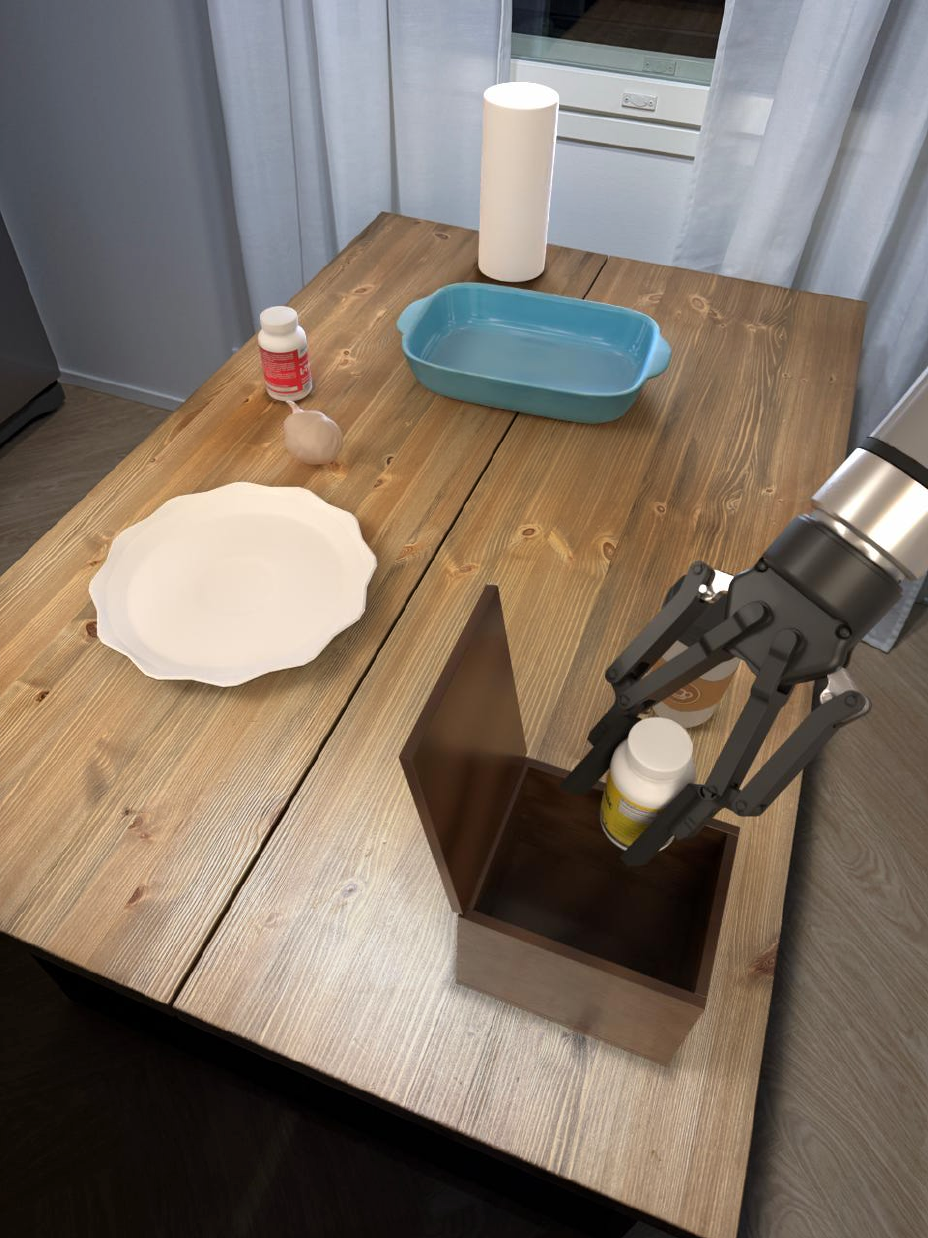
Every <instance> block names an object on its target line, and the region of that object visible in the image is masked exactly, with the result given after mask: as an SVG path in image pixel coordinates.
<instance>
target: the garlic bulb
mask: <svg viewBox="0 0 928 1238" xmlns="http://www.w3.org/2000/svg"><path fill="white" fill-rule="evenodd" d="M286 404H287V405H288V406H289V407H290V408H291V409H292V413H290V414H289V415H287V417H286V418H285V420H284V422H283V426H282V427H283V429H284V447H285V449H286V451H287V452H288V453H289V454H290V455H291V456H292V457H293V458H295V459H296V460H298V461H300V462H302V463H303V464H305V465H308V466H309V465H310V466H317V465H321V466H322V465H323V466H324V465H327V464H329V463H332V462H334V460H336V459H337V457H338V456H339V454H340V452H341V450H342V447H343V441H344V437H343V433H342V431H341V430H342V429H340V427H339V425H337V423H336V422H335V421H334V420H333V419H331V418H330V417H327V415H325V414H324V413H323V412H321V411H319V410H312V409H311V410H303V409H301V407H299V406H298V405H297V403H296V402H295V401H290V400H287V401H286Z"/></svg>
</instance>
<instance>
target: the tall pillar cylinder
mask: <svg viewBox="0 0 928 1238" xmlns="http://www.w3.org/2000/svg"><path fill="white" fill-rule="evenodd" d="M559 104H560V96H559V94H558V93H557V91H556V90H554V89H552V88H550V87H548V86H546V85H543V84H542V85H541V84H538V83H531V82H521V81H519V82H516V81H515V82H505V83H499V84H496V85H492V86H491V87H488V88H487V89H486V90H485V91H484V93H483V97H482V124H481V125H482V127H481V128H482V129H481V160H480V193H479V225H478V226H479V230H478V259H477V261H478V263H477V265H478V269H479V271H480V272H481V273H482V274H483V275H485V276H487V277H489V278H490V279H493V280H496V281H501V282H506V283H507V282H509V283H520V282H526V281H530V280H533V279H535V278H537V277H539V276H540V275H541V274H542V273H543V272H544V270H545V265H546V253H547V244H548V243H547V241H548V230H549V219H550V207H551V197H552V187H553V186H552V185H553V174H554V163H555V150H556V141H557V127H558V117H559V107H560V105H559Z"/></svg>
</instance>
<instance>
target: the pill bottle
mask: <svg viewBox="0 0 928 1238" xmlns="http://www.w3.org/2000/svg"><path fill="white" fill-rule="evenodd" d="M259 322H260V327H261V329H260V330H259V332H258V335H257V343H258V350H259V354H260V360H261V366H262V372H263V377H264V382H265V388H266V392H267V394H268V395H269V396H270V397H271V398H272V399H274V400H277V401H280V402H288V401H287V400H290V401H293V402H295V401H299V400H302V399H304V398H306V397H307V396H308V395H309V394H310V393H311V391H312V389H313V379H312V372H311V371H312V370H311V365H310V364H311V363H310V357H309V350H308V349H309V348H308V343H307V335H306V332H305V330H304V329H303V327H301V325H299V317H298V313H297V311H296V310H295V309H293V308H292V307H290V306H283V305H277V306H271V307H268V308H265V309H264V310H263V311H261V313H260V314H259Z"/></svg>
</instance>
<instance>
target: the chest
mask: <svg viewBox="0 0 928 1238" xmlns="http://www.w3.org/2000/svg"><path fill="white" fill-rule="evenodd" d="M572 771H573V770H568V769H566V768H563V767H559V766H556V765H553V764H550V763H548V762H544V761H542V760H539V759H535V758H532V757H531V756H530V757H529V756H527V755H526V757H525V760H524V762H523V765H522V767H521V770H520V772H519V775H518V777H517V780H516V782H515V785H514V787H513V790H512V792H511V795H510V797H509V800H508V802H507V805H506V807H505V810H504V813H503V815H502V818H501V820H500V823H499V825H498V828H497V830H496V833H495V835H494V838H493V840H492V843H491V845H490V848H489V850H488V853H487V855H486V858H485V860H484V863H483V865H482V868H481V870H480V873H479V875H478V878H477V881H476V883H475V886H474V888H473V891H472V893H471V896H470V898H469V901H468V903H467V906H466V908H465V911H464V913H463V915H462V914H459V913H457V924H456V925H457V927H456V929H457V931H456V935H457V936H456V966H455V967H456V968H455V969H456V970H455V971H456V972H455V983H456V984H457V985H459V986H462V987H465V988H466V989H469V990H472V991H474V992H477V993H480V994H482V995H485V996H487V997H490V998H493V999H494V1000H497V1001H499V1002H502V1003H505V1004H508V1005H510V1006H512V1007H515V1008H517V1009H520V1010H522V1011H525V1012H526V1013H530V1014H532V1015H535V1016H537V1017H540V1018H542V1019H546V1020H548V1021H550V1022H552V1023H554V1024H558V1025H560V1026H563V1027H565V1028H568V1029H570V1030H573V1031H575V1032H578V1033H580V1034H581V1035H584V1036H588V1037H590V1038H592V1039H595V1040H598V1041H600V1042H603V1043H605V1044H608V1045H610V1046H613V1047H615V1048H617V1049H620V1050H622V1051H625V1052H628V1053H630V1054H632V1055H634V1056H636V1057H637V1056H638V1057H640V1058H643V1059H645V1060H647V1061H650V1062H652V1063H655V1064H658V1065H660V1066H663V1067H666V1068H667V1067H668V1066H669V1064H670V1063H671V1061H672V1059H673V1058H674V1057H675V1055H676V1054H677V1052H678V1051H679V1049H680V1048H681V1046H682V1045H683V1043H684V1042H685V1040H686V1039H687V1037H688V1036H689V1034H690V1033H691V1031H692V1030H693V1028H694V1026H695V1025H696V1024H697V1022H698V1021H699V1019H700V1018H701V1016H702V1015H703V1013H704V1011H705V1010H706V1005H707V1000H708V999H707V998H708V995H709V990H710V985H711V981H712V980H711V979H712V974H713V969H714V965H715V960H716V954H717V949H718V943H719V939H720V935H721V934H720V933H721V928H722V924H723V919H724V913H725V909H726V904H727V898H728V894H729V888H730V883H731V878H732V873H733V868H734V863H735V857H736V853H737V848H738V843H739V837H740V832H741V826H738V825H735V824H733V823H729V822H726V821H723V820H719V819H717V818H714V817H713V818H712V819H711V820H710V821H709V822H708V823H707V824H706V825H705V827H704V828H703V829H702V830H700V832H699V833H698V834H697V835H696V836H695V837H693V838H691V839H688V840H679V841H678V840H677V839H676V838H675V837H674V839H673V840H672V842H671V843H670V844H669V845H668V846H667V847H665V848H664V849H662V850H660V851H658V852H657V853H656V854H655V855H654V857H653V858H652V859H651V860H650V861H649V862H648V863H647V864H646V865H639V866H629V867H627V866H626V865H625V863H624V862H623V861H622V860H621V859H620V856H621V855H622V854H623V853H624V852H625V851H626V850H623V849H622V848H620V847H618V846H617V845H616V844H614V843H613V842H612V841H611V840H610V839H609V838H608V836H607V835H606V834H605V832H604V830H603V827H602V825H601V820H600V809H601V803H602V799H603V794H604V789H605V785H606V781H602V780H599V781H598V782H597V783H596V784H595V785H594V786H593V787H592V788H591V789H590V791H589V792H588V793H587V794H586V795H579V794H566V793H565V792H564V791H563V789H562V788H561V787H560V786H559V785H560V784H561V783H562V782H563V781H564V780H565V778H566V777H567V776H568V775H569V774H570V773H571V772H572Z"/></svg>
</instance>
